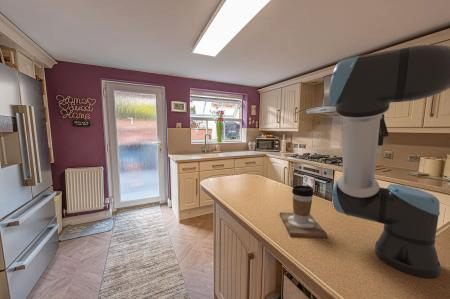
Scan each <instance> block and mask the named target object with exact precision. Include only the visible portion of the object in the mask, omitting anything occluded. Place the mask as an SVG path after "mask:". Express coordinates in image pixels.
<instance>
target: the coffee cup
mask: <svg viewBox="0 0 450 299" xmlns="http://www.w3.org/2000/svg"><path fill="white" fill-rule="evenodd" d="M291 191H292V192H291V193H292V208H293V209H292V210H293V212H292V213H294V221H295V222H296V223H299V224H307V223H308V221H309V215H311V209H312V204H313V202H312V201H313V196H314V193H315V192H314V188H313V187H312V186H310V185H294V186H293V187H292V190H291Z"/></svg>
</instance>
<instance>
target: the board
mask: <svg viewBox="0 0 450 299" xmlns="http://www.w3.org/2000/svg"><path fill="white" fill-rule="evenodd" d="M279 217H280V219H281V221H282V223H283V225H284V227H285V229H286V231H287V233H288V235H289V237H304V238H322V239H323V238H324V239H327V238H328V233H327V232H326V231H325V229H323V227H322V226H321V225H320V224H319V223H318V222H317V220H316V219H315V218H314V217H313V215H311V214H310V215H309V221H308V223H307V224H299V223H296V222H295V221H294V212H281V211H280V212H279Z"/></svg>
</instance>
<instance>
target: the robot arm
mask: <svg viewBox="0 0 450 299" xmlns="http://www.w3.org/2000/svg"><path fill="white" fill-rule="evenodd" d="M332 71H333V72H332V76H331V79H330V83H329V91H328V104H329V106H331V107H332V108H333V107H335V112H336V114H337V115H338V116H340V117H341V118H342V175H341V176H340V177H339V178H338V180H336V181H334V183H333V186H332V192H331V193H332V204H333V207H334V210H335V211H336V212H337V213H340V214H343V215H345V216H350V217H354V218H357V219H362V220H366V221H371V222H374V223H379V224H382V225H383V231H382V232H381V234H380V236H379V238H378V240H377V241H376V242H375V245H374V253H375V254H376V256H377V257H378V258H379V259H380V260H381V261H383V263H385V264H387V265H389V266H390V267H392V268H394V269H396V270H398V271H400V272H403V273H405V274H409V275H412V276H415V277H419V278H424V279H425V278H426V279H427V278H428V279H434V278H437V277H439V276H440V274H441V270H442V267H441V266H442V265H441V262H440V261H439V256H438V253H437V250H436V246H435V245H436V244H435V243H436V237H437V230H438V223H439V217H440V215H441V213H440V206H441V205H440V200H439V199H438V198H437V197H436V196H435V195H433V194H432V193H429V192H427V191H425V190H421V189H418V188H415V187H411V186H406V185H401V184H396V183H391V184H388V185H387V188H386V187H380V183H379V182H378V181H377V180H376V179H375V175H376V167H377V166H376V165H377V156H378V155H377V154H382V151H383V150H382V149H383V145H384V139H385V138H386V137H389V132H388V128H387V125H386V120H385V113H387V111H389V109H390V104H391V103H403V102H413V101H418V100H423V99H425V98H426V99H427V98H431V97H433V96H436V95H439V94H441V93H443V92H446V91H447V90H450V46H449V45H443V44H418V45H412V46H408V47H404V48H398V49H391V50H385V51H380V52H373V53H369V54H363V55H356V56H354V57H350V58H346V59H342V60H340V61H339V62H338V63H336V65H335V66H334V69H333V70H332Z"/></svg>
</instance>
